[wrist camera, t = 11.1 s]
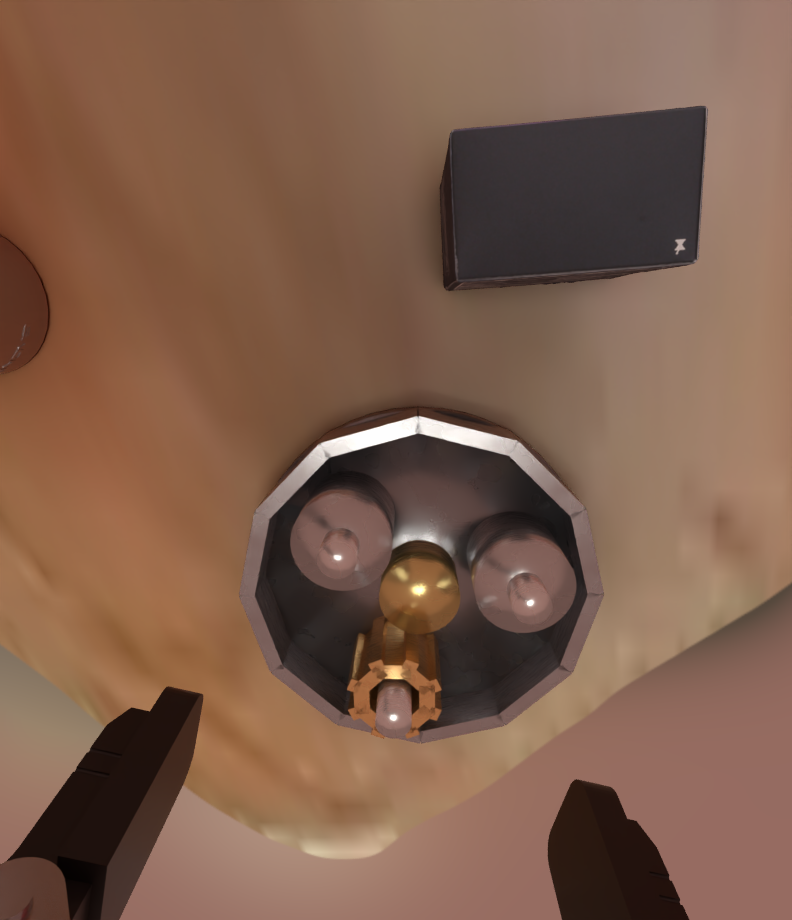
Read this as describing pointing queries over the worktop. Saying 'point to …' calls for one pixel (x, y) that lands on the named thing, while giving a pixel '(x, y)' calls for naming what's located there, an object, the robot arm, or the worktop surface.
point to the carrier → (423, 567)
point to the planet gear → (395, 672)
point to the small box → (572, 198)
